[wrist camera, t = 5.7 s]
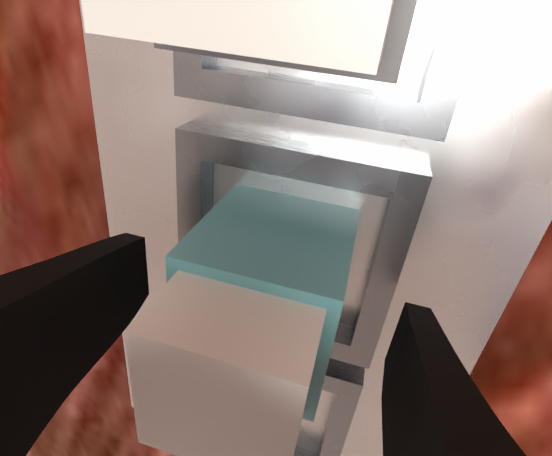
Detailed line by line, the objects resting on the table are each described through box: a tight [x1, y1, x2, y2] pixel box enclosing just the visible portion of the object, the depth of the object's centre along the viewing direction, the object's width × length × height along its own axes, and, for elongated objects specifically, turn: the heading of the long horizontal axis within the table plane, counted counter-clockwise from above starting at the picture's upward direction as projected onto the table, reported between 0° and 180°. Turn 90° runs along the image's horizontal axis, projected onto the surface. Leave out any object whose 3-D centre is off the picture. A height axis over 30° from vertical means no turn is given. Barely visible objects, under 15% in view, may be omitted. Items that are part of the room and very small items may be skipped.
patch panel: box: [79, 0, 552, 456], centre depth 13 cm, size 14×24×2 cm, turn 174°
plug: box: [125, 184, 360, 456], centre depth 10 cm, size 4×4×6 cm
